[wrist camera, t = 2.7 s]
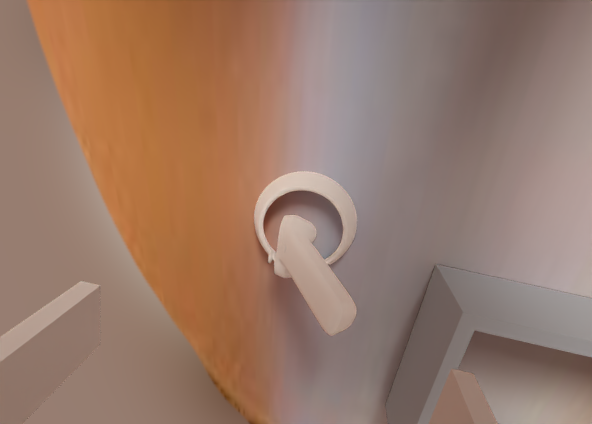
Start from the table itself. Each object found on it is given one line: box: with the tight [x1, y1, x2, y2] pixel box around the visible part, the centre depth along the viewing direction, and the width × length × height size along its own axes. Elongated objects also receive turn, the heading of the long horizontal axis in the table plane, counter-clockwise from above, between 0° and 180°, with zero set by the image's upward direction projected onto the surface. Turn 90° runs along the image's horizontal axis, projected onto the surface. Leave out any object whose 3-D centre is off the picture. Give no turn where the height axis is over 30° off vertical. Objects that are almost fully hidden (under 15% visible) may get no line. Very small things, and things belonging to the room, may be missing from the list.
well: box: [385, 264, 592, 424], centre depth 24 cm, size 14×20×6 cm
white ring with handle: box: [254, 171, 357, 336], centre depth 23 cm, size 8×12×7 cm
